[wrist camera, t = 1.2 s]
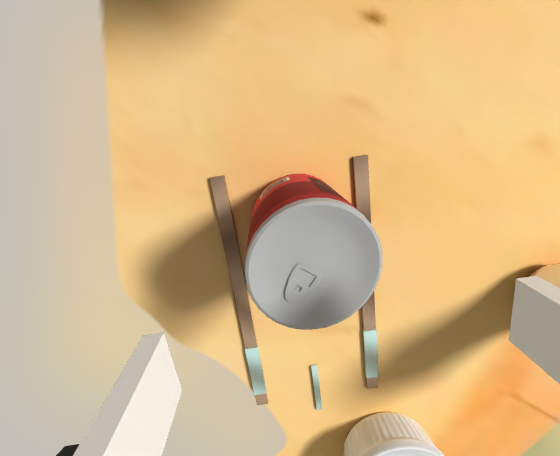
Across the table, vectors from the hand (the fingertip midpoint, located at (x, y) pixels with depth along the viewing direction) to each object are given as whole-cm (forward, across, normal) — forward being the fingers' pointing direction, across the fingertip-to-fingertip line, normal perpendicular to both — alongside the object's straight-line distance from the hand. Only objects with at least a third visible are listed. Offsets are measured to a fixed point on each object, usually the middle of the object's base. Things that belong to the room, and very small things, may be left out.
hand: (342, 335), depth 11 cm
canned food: (+17, 0, 0) cm, 17 cm away
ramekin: (+17, +7, -29) cm, 34 cm away
